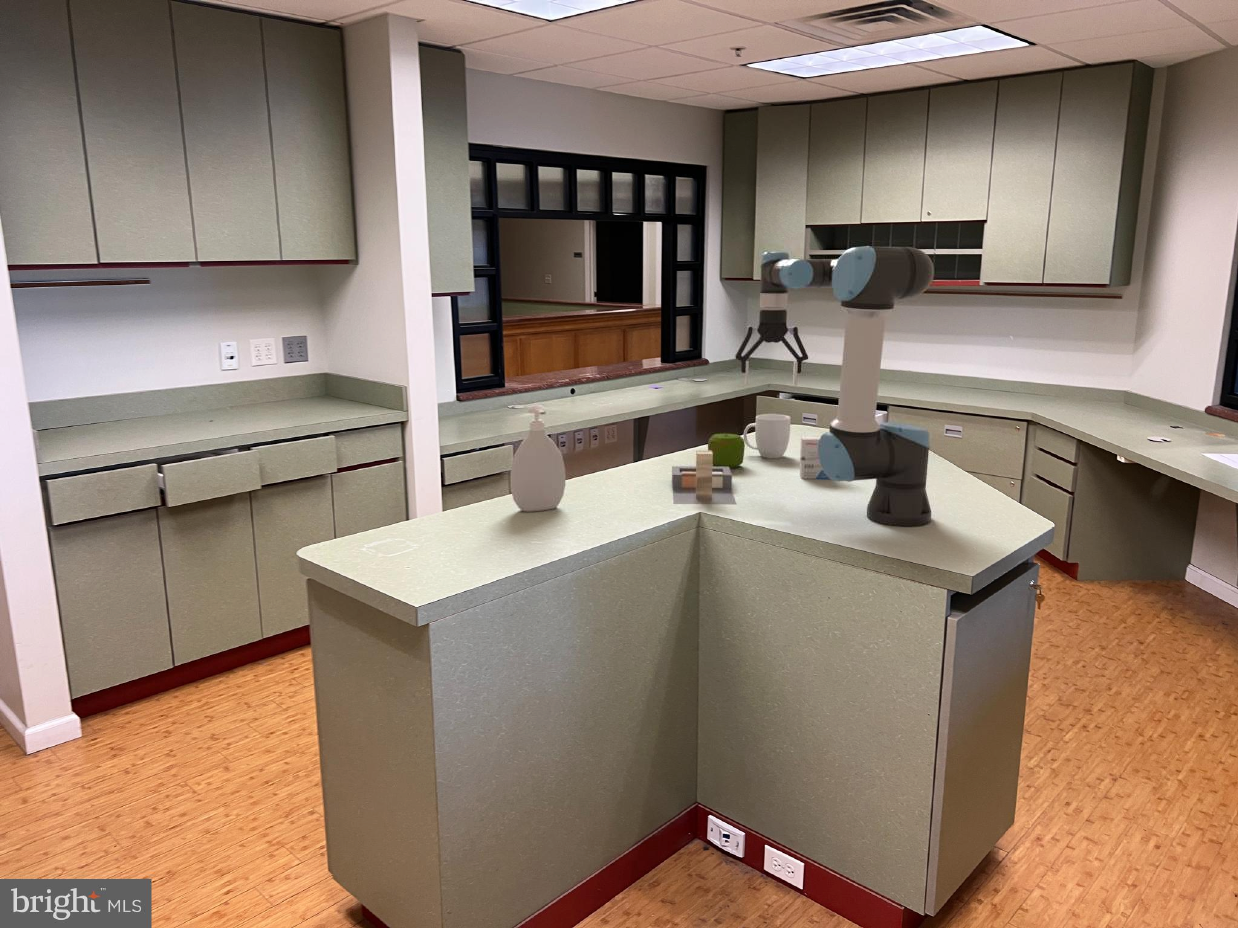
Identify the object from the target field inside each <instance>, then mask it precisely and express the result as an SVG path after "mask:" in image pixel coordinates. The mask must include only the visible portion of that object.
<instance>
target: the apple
mask: <svg viewBox="0 0 1238 928" xmlns="http://www.w3.org/2000/svg"><path fill="white" fill-rule="evenodd" d="M745 447H746V445H745V441H744V437H742V436H741V435H739V434H735V433H734V434H733V433H728V432H726V433H716V434H715V433H714V434H712V435H711V437H710V438H709V439H708V442H707V451H712V453H713V464H712V466H713V467H729V468H730V470H731V469H736V468H737V467H738V466H740V465H742V464H743V463H744V459H745V458H744V456H745Z"/></svg>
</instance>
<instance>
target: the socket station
mask: <svg viewBox="0 0 1238 928" xmlns="http://www.w3.org/2000/svg"><path fill="white" fill-rule="evenodd" d="M732 485H733V473H732V472H731V469H730V468H729V467H715V466H712V499H696V465H695V466H693V465H686V466H685V465H680V466H679V465H678V466H677V465H676V466H675V465H671V486H672V487H671V488H672V499H673V504H677V505H679V504H680V505H681V504H682V505H685V504H686V505H737V501H736V499H735V496H734V493H733V490H732V487H733V486H732Z"/></svg>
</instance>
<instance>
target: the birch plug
mask: <svg viewBox="0 0 1238 928" xmlns="http://www.w3.org/2000/svg"><path fill="white" fill-rule="evenodd" d="M695 455H696V456H695V466H696V499H712V467H713V465H712V464H713V453H712V451H708V450H696V454H695Z"/></svg>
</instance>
